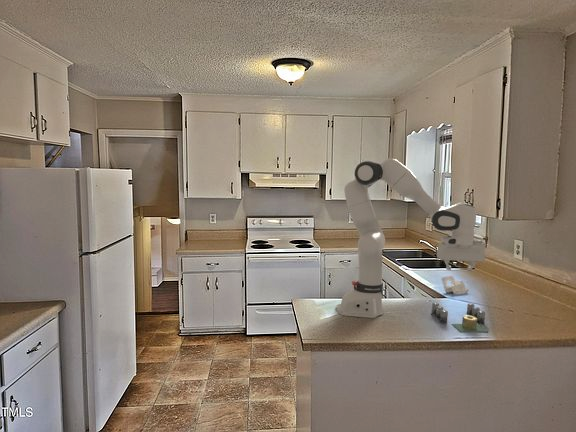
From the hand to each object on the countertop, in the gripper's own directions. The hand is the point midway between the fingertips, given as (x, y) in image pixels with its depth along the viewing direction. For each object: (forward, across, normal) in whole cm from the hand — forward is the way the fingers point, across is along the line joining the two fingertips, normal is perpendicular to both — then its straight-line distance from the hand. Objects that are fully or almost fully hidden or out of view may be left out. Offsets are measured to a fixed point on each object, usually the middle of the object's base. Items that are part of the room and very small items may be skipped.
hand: (458, 270), depth 175 cm
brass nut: (+24, -4, +7) cm, 25 cm away
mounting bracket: (+24, -20, -46) cm, 56 cm away
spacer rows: (+24, -4, -5) cm, 25 cm away
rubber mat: (+24, -4, +7) cm, 25 cm away
